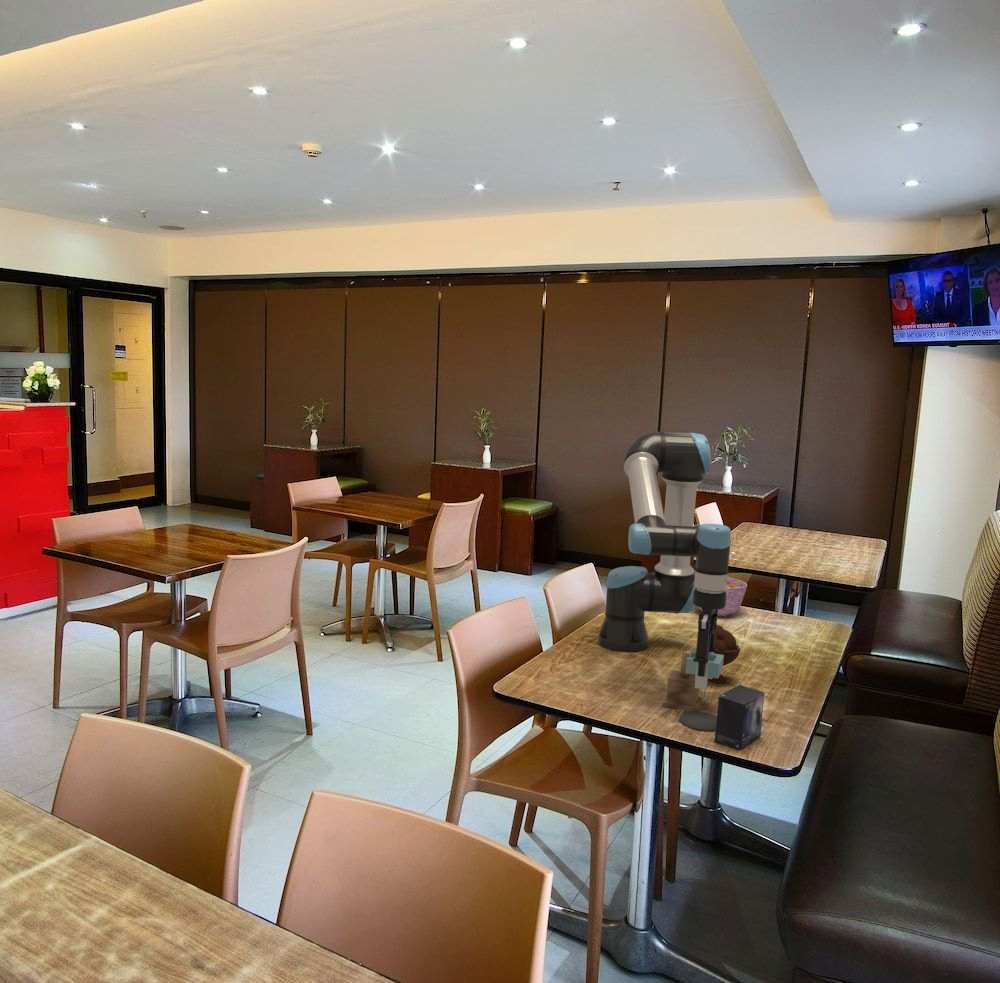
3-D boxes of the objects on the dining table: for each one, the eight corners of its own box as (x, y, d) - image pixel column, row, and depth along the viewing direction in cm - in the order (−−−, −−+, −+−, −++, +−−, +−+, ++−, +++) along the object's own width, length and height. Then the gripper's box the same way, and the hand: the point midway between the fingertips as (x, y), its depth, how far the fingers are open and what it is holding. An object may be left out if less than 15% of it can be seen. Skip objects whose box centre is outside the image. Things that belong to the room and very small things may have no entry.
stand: (662, 706, 189) (665, 656, 188) (669, 695, 197) (672, 647, 195) (696, 713, 186) (699, 662, 185) (701, 701, 194) (705, 652, 192)
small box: (741, 751, 166) (745, 703, 165) (713, 741, 171) (716, 695, 170) (762, 736, 174) (766, 691, 173) (734, 728, 179) (738, 683, 177)
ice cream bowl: (715, 689, 202) (720, 633, 201) (686, 675, 212) (690, 621, 210) (746, 684, 207) (750, 628, 206) (716, 670, 217) (720, 617, 215)
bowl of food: (688, 618, 269) (690, 585, 268) (684, 604, 289) (686, 573, 288) (748, 623, 266) (751, 590, 265) (740, 608, 286) (743, 577, 284)
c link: (685, 673, 187) (686, 658, 186) (691, 663, 193) (692, 650, 193) (718, 678, 184) (719, 663, 183) (722, 669, 190) (723, 655, 190)
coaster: (675, 725, 178) (675, 723, 178) (683, 710, 187) (683, 708, 187) (720, 734, 174) (721, 732, 174) (726, 718, 184) (726, 716, 184)
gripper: (720, 601, 175) (713, 699, 178) (732, 583, 194) (725, 673, 197) (686, 596, 178) (679, 693, 181) (701, 579, 197) (695, 668, 200)
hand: (703, 682), depth 189 cm, fingers closed on c link, 7 cm apart
